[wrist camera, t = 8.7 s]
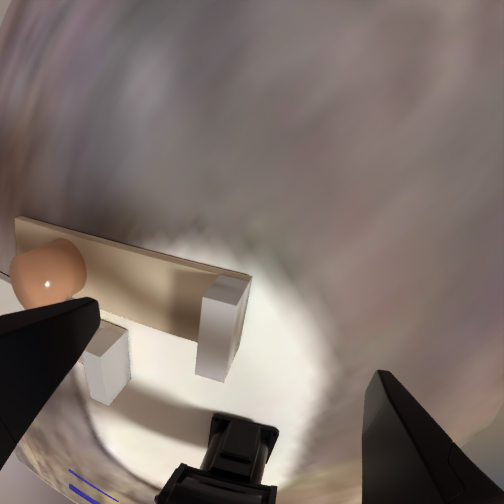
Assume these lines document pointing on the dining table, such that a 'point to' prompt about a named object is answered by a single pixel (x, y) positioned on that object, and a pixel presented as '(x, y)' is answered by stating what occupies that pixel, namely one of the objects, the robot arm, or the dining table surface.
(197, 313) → the birch strip
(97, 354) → the grey strip
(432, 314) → the dining table surface
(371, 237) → the dining table surface
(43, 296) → the rounded peach dome
